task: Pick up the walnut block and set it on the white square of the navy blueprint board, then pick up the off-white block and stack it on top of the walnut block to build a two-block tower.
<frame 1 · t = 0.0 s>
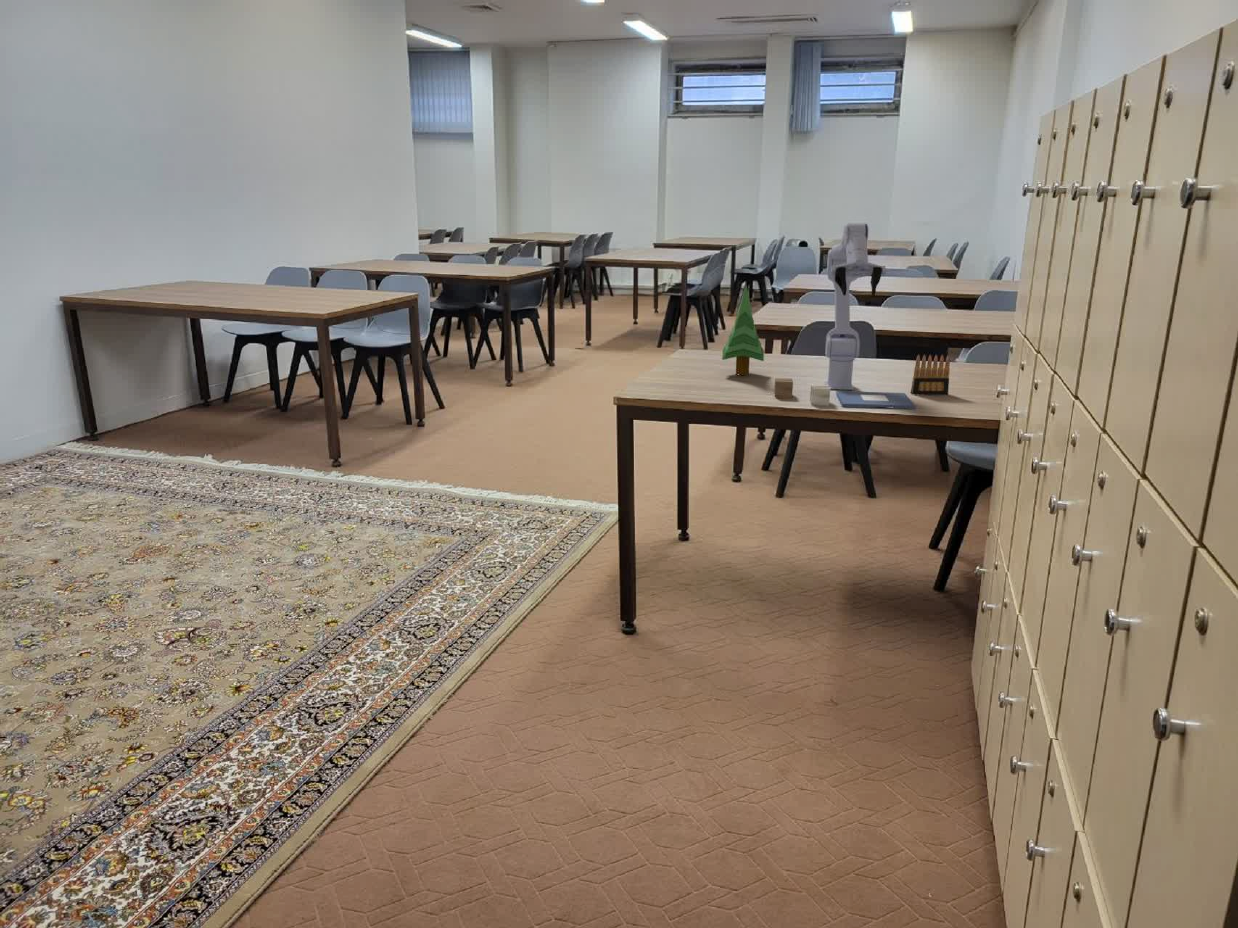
hand: (859, 293, 238), 32 cm above the table, tool tilted 50°, fingers open, 7 cm apart
walnut block: (783, 396, 263), on the table
blueprint board: (874, 401, 256), on the table
ammunition clip: (929, 394, 266), on the table
decorative tree: (742, 375, 293), on the table
off-white block: (819, 403, 255), on the table
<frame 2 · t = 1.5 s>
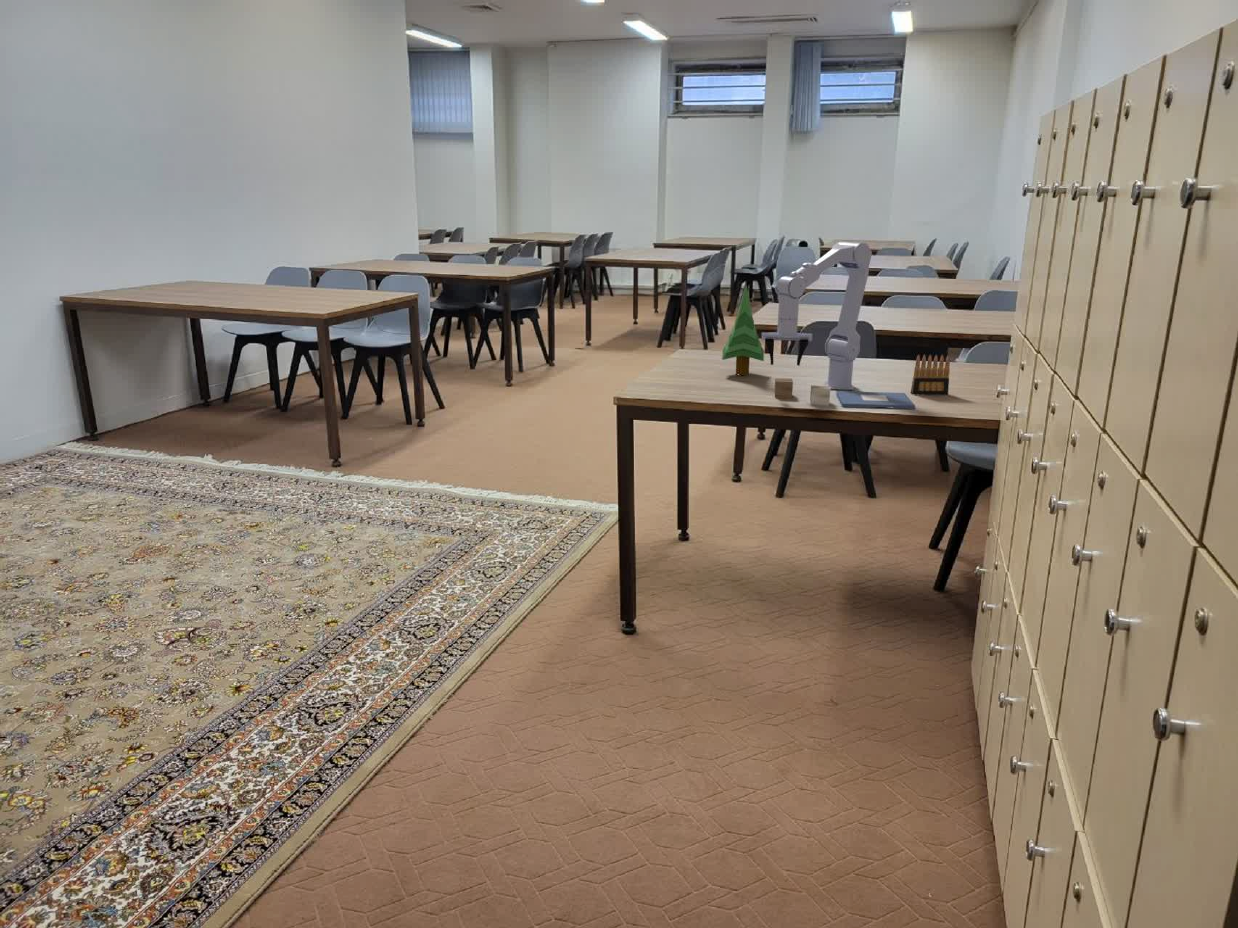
hand: (785, 364, 260), 10 cm above the table, tool pointing down, fingers open, 7 cm apart
nothing on the table moved.
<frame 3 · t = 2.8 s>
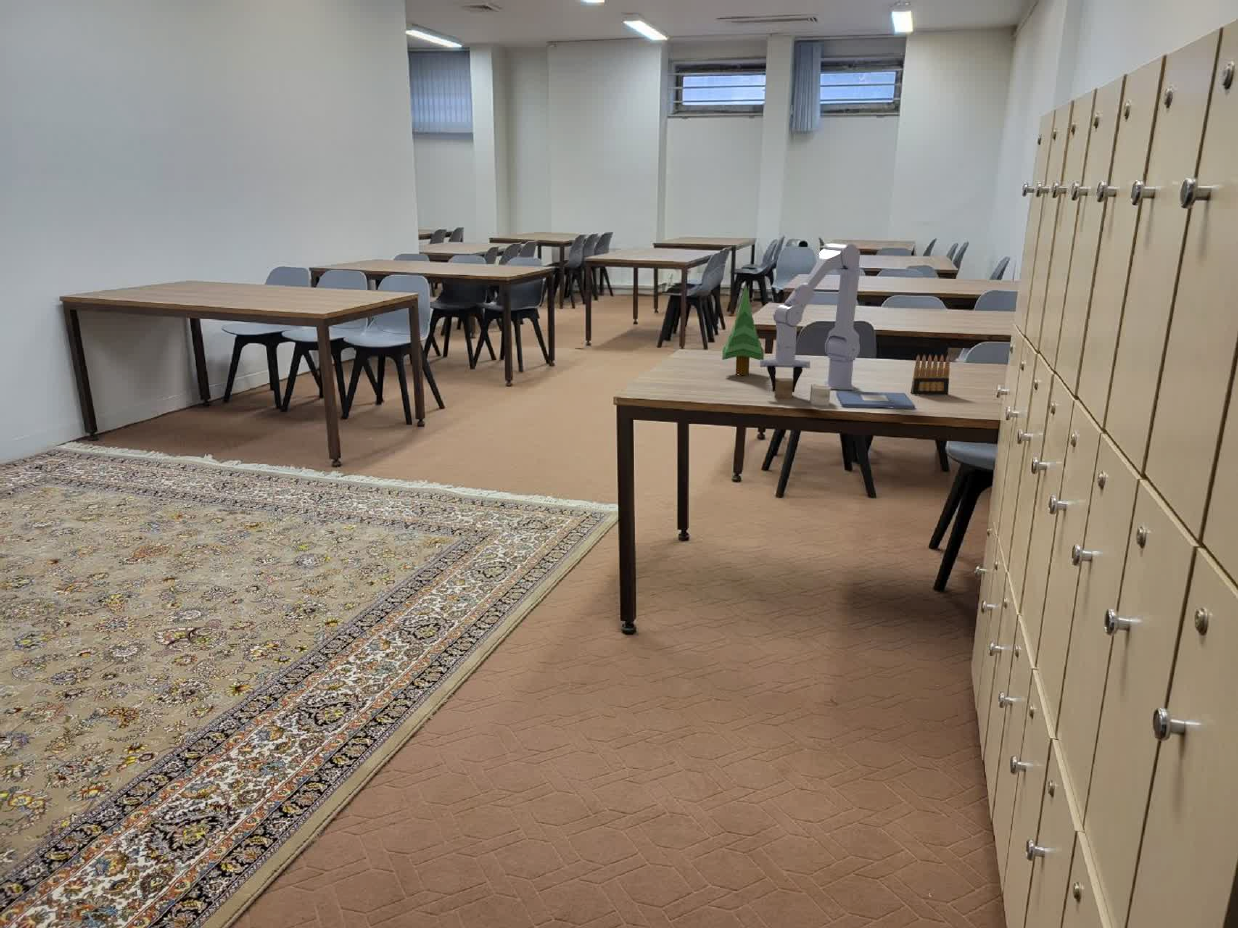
hand: (783, 391, 263), 1 cm above the table, tool pointing down, fingers closed on walnut block, 5 cm apart
walnut block: (783, 395, 263), on the table, touching gripper
everything else where it was.
when the fingers open (3 cm above the table, at t = 7.8 s): walnut block stays where it is, resting on blueprint board.
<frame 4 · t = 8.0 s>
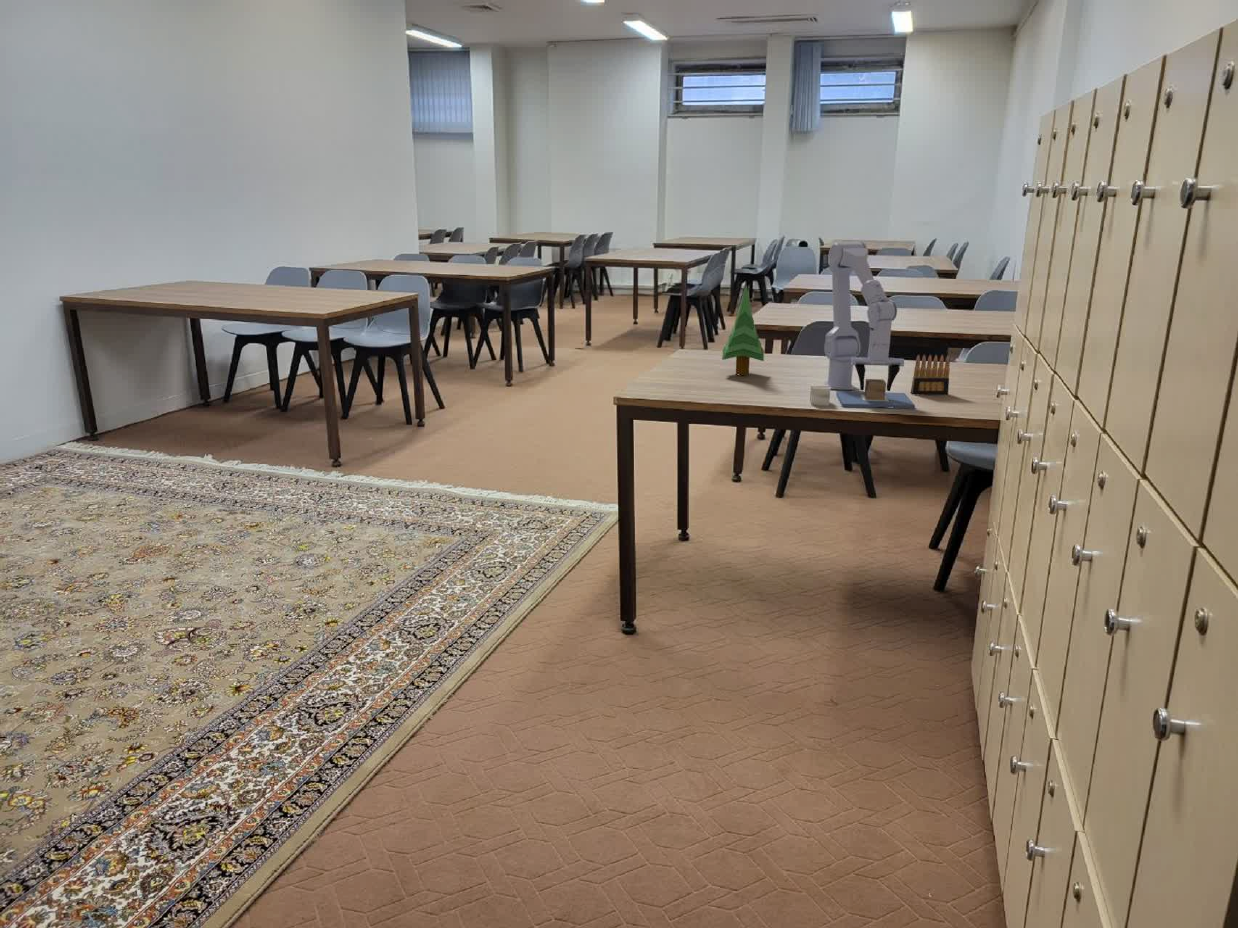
hand: (875, 390, 255), 3 cm above the table, tool pointing down, fingers open, 7 cm apart
walnut block: (874, 397, 256), point 1 cm above the table, touching blueprint board
everything else where it was.
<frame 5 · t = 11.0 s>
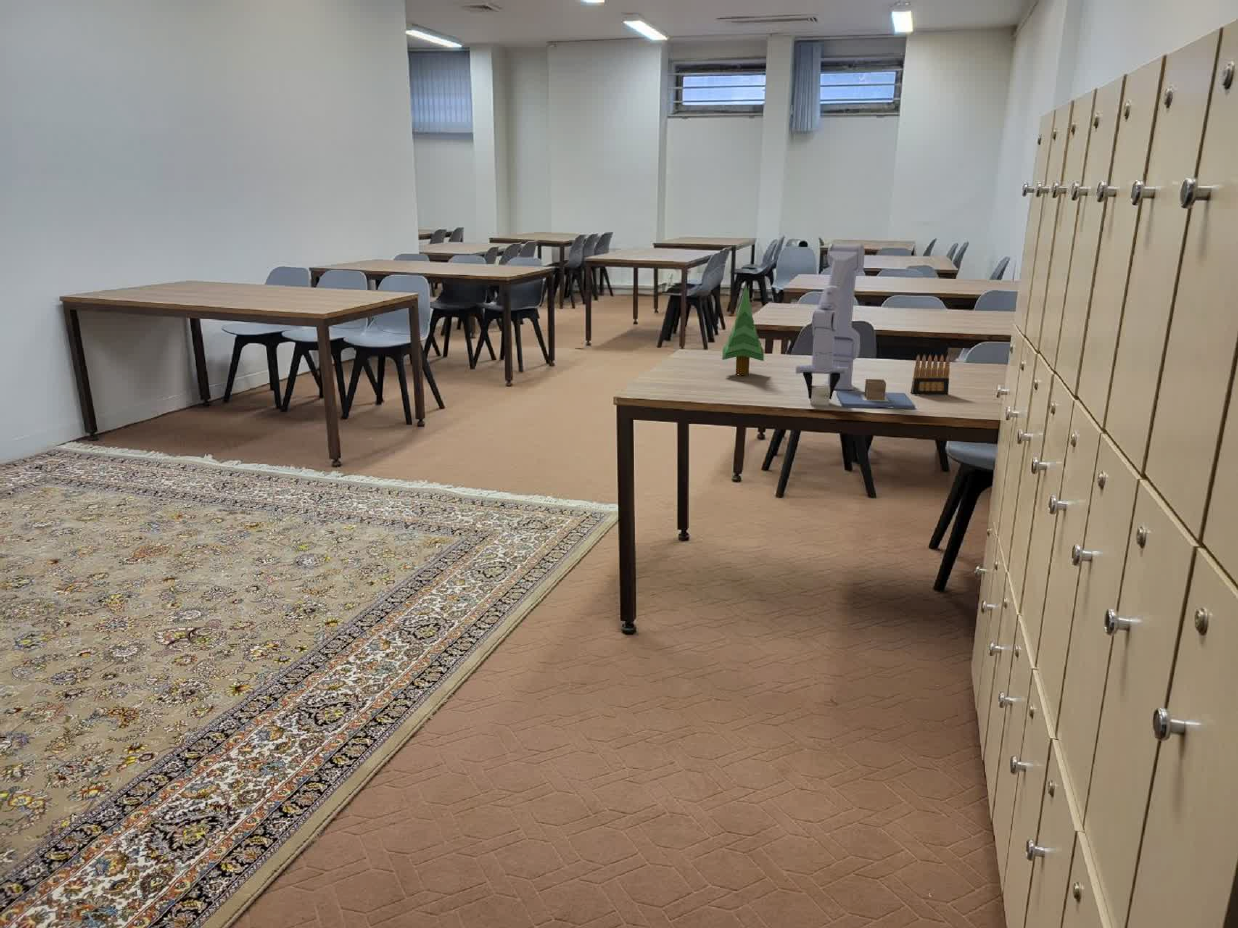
hand: (819, 398, 254), 1 cm above the table, tool pointing down, fingers closed on off-white block, 5 cm apart
off-white block: (819, 403, 255), on the table, touching gripper
everything else where it was.
when the fingers open (8 cm above the table, at t = 14.4 s): off-white block stays where it is, resting on walnut block.
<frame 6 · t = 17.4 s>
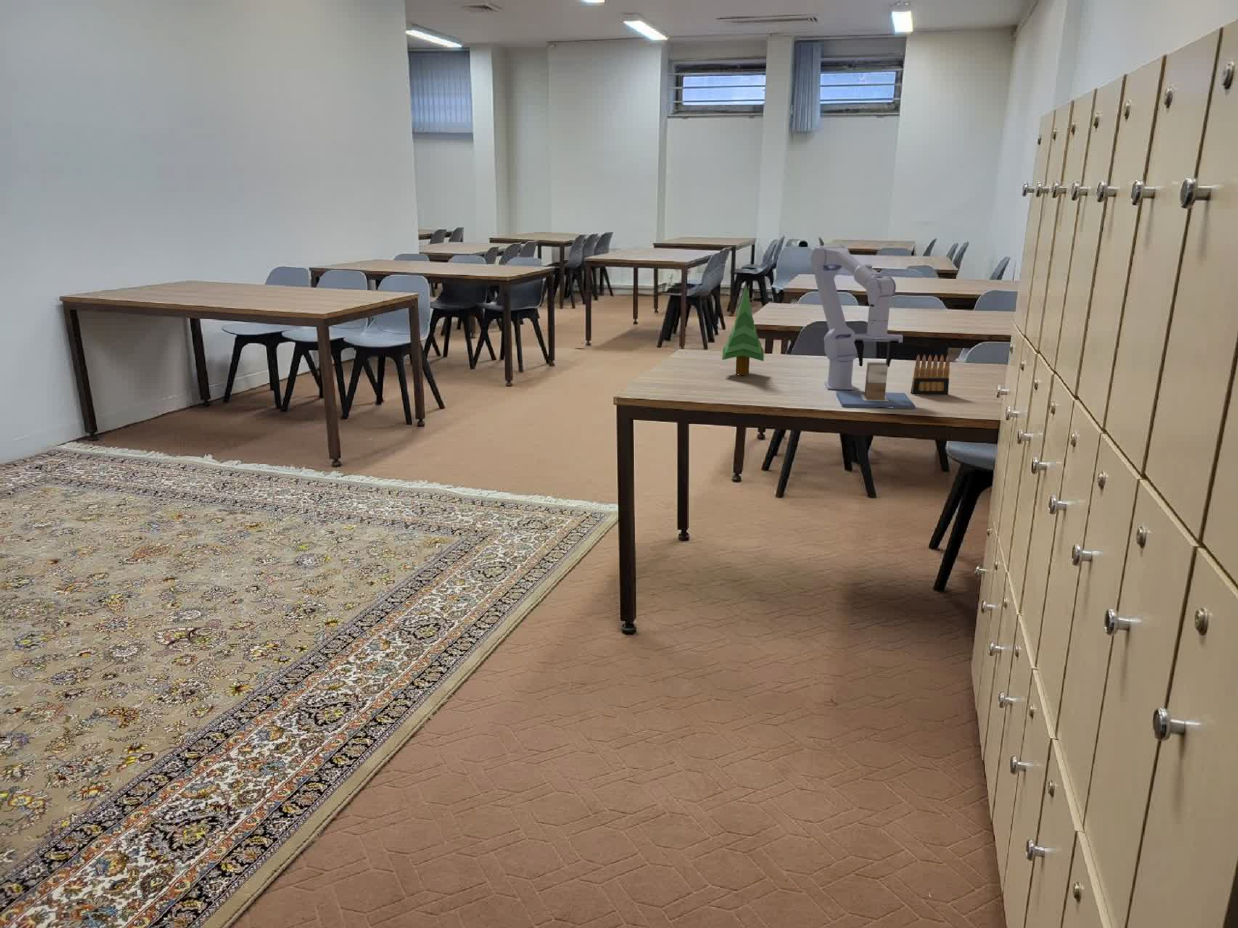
hand: (874, 366, 259), 9 cm above the table, tool pointing down, fingers open, 7 cm apart
walnut block: (874, 397, 256), point 1 cm above the table, touching blueprint board, off-white block
off-white block: (875, 381, 254), point 6 cm above the table, touching walnut block
everything else where it was.
at the end: walnut block 0.1 cm off-centre on the blueprint board, point 1.1 cm above the blueprint board's base; off-white block 0.0 cm off-centre on the walnut block, point 5.0 cm above the walnut block's base; off-white block tilted 0° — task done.
